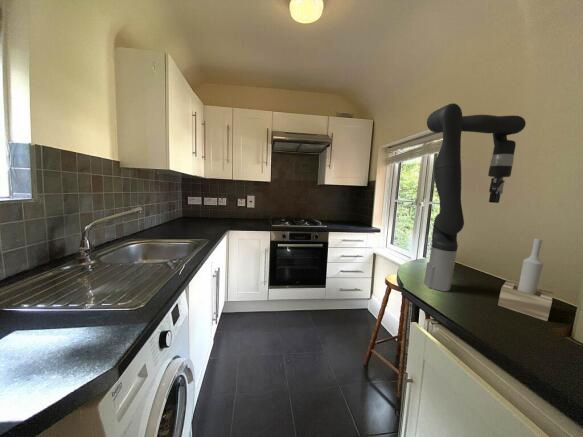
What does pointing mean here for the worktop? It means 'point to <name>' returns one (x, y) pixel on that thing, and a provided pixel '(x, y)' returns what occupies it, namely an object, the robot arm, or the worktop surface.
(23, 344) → the worktop surface
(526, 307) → the socket holder
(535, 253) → the bottle
